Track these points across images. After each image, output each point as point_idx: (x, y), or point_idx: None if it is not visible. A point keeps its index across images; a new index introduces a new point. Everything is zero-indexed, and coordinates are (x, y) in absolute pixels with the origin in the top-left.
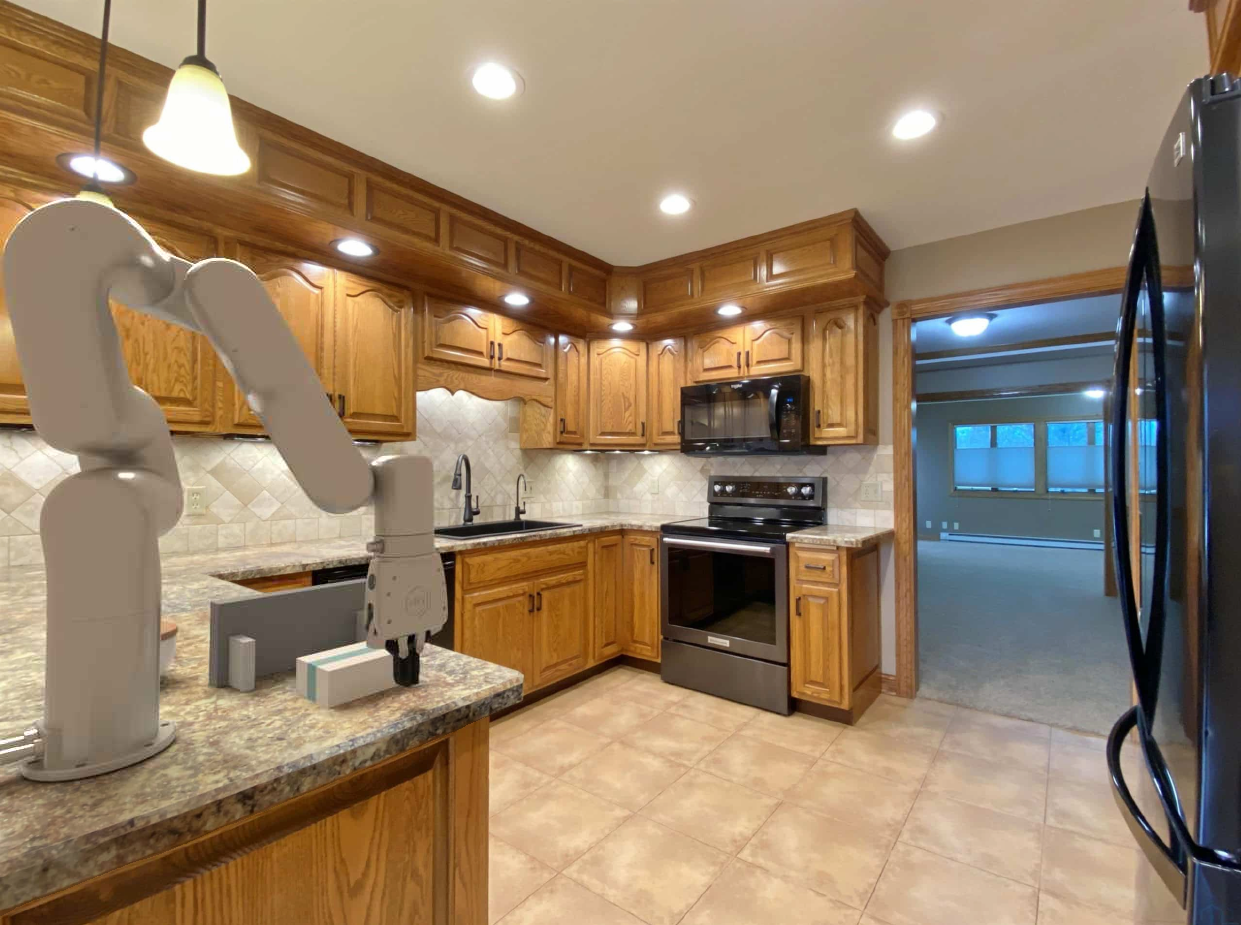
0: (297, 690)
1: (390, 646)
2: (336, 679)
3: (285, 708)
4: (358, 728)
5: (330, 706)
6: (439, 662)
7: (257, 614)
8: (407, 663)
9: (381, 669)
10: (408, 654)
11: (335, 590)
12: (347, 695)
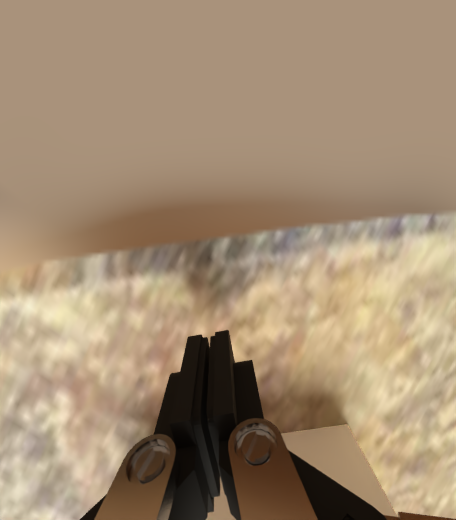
0: None
1: (371, 515)
2: (360, 493)
3: (403, 469)
4: (355, 282)
5: (343, 426)
6: (44, 512)
7: None
8: (232, 392)
9: (222, 501)
10: (203, 460)
11: None
12: (308, 443)
